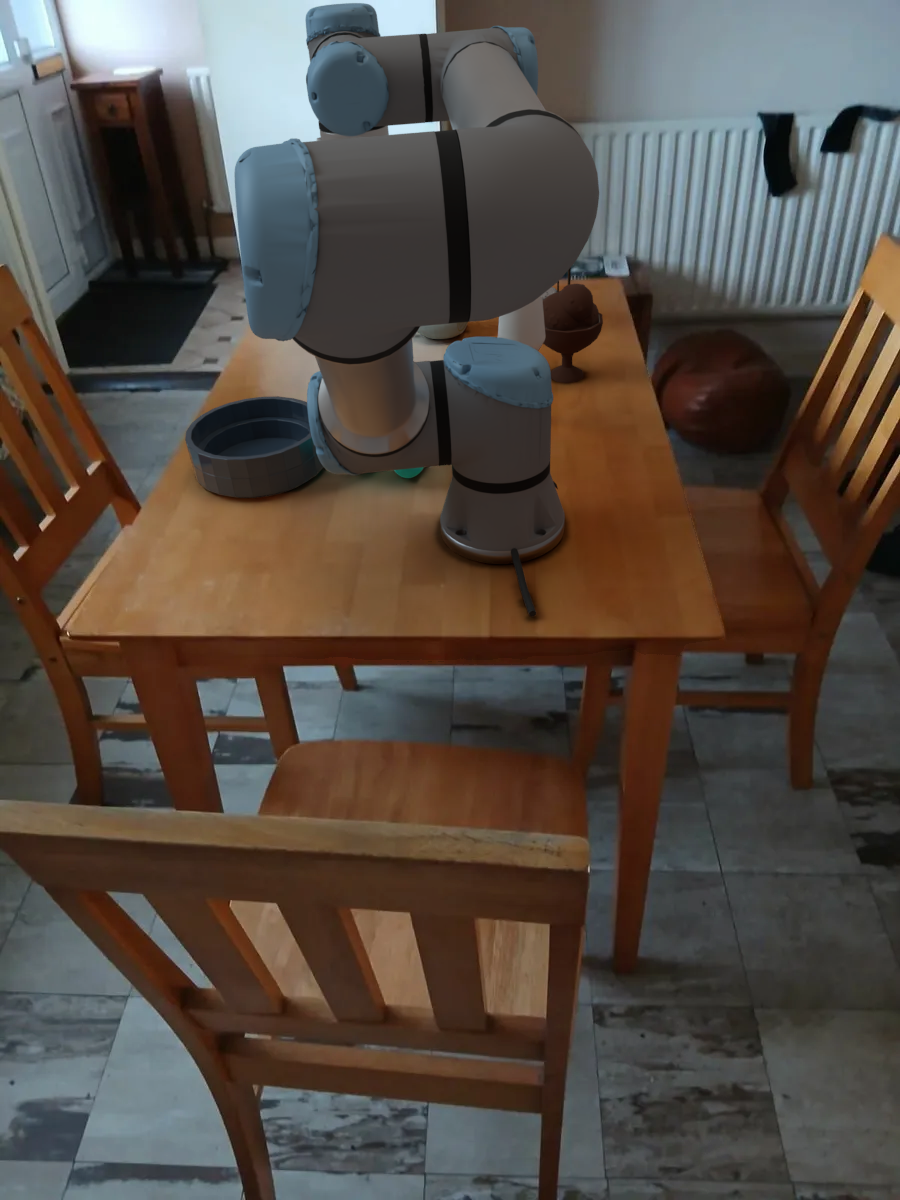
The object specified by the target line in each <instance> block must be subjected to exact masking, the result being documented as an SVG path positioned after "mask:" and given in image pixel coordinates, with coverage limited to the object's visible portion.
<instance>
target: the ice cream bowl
mask: <svg viewBox="0 0 900 1200" xmlns="http://www.w3.org/2000/svg"><path fill="white" fill-rule="evenodd" d="M593 296H594V295H593V293H592V292H591V289H589V288H588V287H586V285H585V284H582V283H570V284H569V285H568V284H567V285H565V286H563V288H562V289H561V290H559V292H556V293H553V294H551V295H549V296H547V297H546V298H545V299H544V300H543V313H544V324H545V341H544V342H543V344H542V345H544V346H545V347H547V348H548V349H550V350H552V351H554V352H556V353H557V354H560V355H561V365H559V366H557V367H555V368H553V369H551V370H550V371H551V380H553V381H554V382H557V383H563V384H570V383H575V382H576V383H577V382H579V381H580V380H582V379H584V371H583V369H581V368H579V367H578V366H575V365H573V357H574V354H576V353H579V352H581V351H583V350H584V349H586V348H587V347H589V346H591V345H592V344H593V343H594V342H595V341H596V340H597V339H598V337H599V336H600V334H601V332H602V328H603V324H604V318H603V314H602V313H600V311H599V309H598V306H597V305H596V304H595V302H594V297H593Z"/></svg>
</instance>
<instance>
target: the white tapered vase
mask: <svg viewBox="0 0 900 1200" xmlns="http://www.w3.org/2000/svg"><path fill="white" fill-rule="evenodd" d="M497 337H499V338H506V339H510V340H514V341H518V342H521V343H523V344H526V345H528V346H530V347H532V348H534V349H536V350H537V351H539V350H540V349H541V348H542V346H543V345H544V344H543V342H544V341H545V324H544V313H543V301H542V295H541V296H540V297H538V298H537V299H536V300H535V301H533V302H531V303H530V304H528V305H526V306H524V307H522V308H520V309H518V310H516V311H514V312H511V313H509V314H506V315H503V316H499V317H498V327H497Z"/></svg>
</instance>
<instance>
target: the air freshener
mask: <svg viewBox="0 0 900 1200" xmlns="http://www.w3.org/2000/svg"><path fill="white" fill-rule="evenodd" d="M468 323H469V322H460V323H449V324H440V325H429V326H420V328H419V330H418V331H417V333H418V334H419V335H421V336H423V337H425V338H428V339H431V340H448V339H453V338H456V337H458V336H459V335H461V334H462V333H464V331H465V330H466V328H467V326H468Z"/></svg>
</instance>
